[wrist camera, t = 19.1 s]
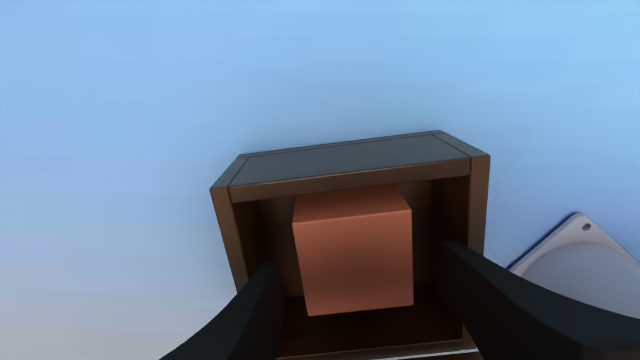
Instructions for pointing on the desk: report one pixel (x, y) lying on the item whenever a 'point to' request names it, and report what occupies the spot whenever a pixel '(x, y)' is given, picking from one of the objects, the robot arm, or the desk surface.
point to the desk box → (350, 173)
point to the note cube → (354, 249)
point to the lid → (452, 357)
